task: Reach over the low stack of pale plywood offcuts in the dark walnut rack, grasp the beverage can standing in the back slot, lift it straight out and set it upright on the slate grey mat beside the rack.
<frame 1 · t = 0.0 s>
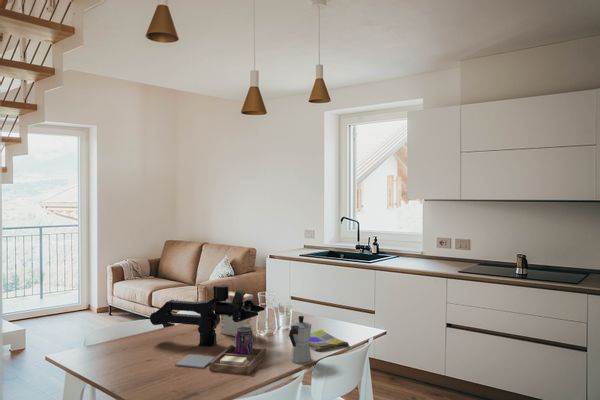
hand: (261, 311, 207), 17 cm above the table, tool horizontal, fingers open, 9 cm apart
coffeecake box: (236, 334, 229), on the table
beverage can: (243, 358, 196), resting in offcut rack
dish towel: (320, 343, 219), on the table
slate mat: (196, 361, 191), on the table
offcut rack: (239, 362, 191), on the table
coffee maker: (299, 361, 193), on the table
offcut stack: (234, 368, 186), resting in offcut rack
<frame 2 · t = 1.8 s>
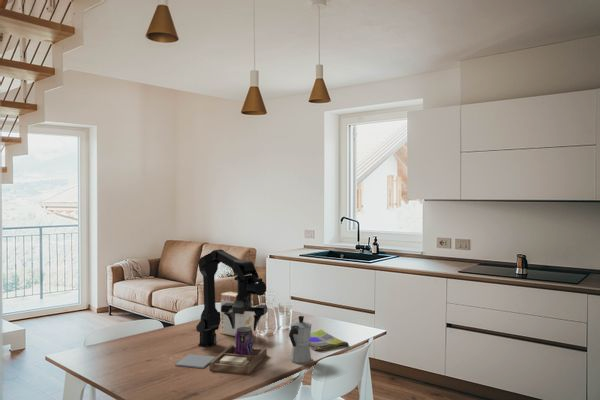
hand: (244, 329, 196), 12 cm above the table, tool pointing down, fingers open, 9 cm apart
nothing on the table moved.
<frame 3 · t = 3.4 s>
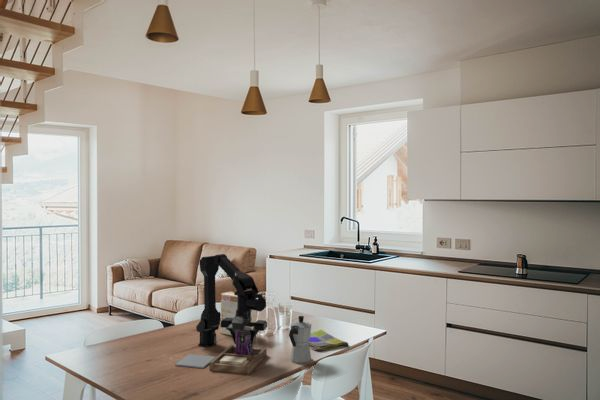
hand: (243, 344, 196), 5 cm above the table, tool pointing down, fingers closed on beverage can, 7 cm apart
beverage can: (243, 358, 196), resting in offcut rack, touching gripper
everything else where it was.
when the fingers open (7 cm above the table, at t = 8.9 s): beverage can stays where it is, resting on slate mat.
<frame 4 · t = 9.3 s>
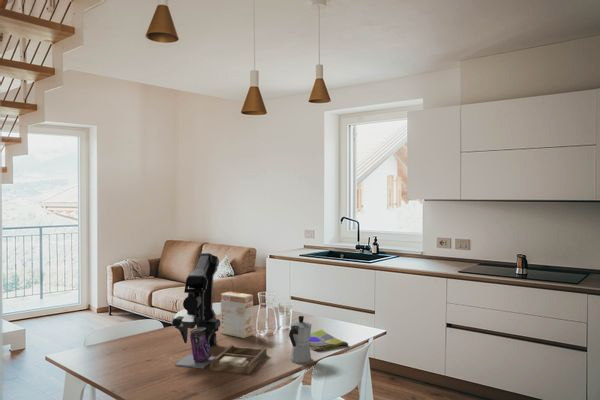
hand: (196, 344, 191), 7 cm above the table, tool pointing down, fingers open, 9 cm apart
beverage can: (202, 359, 190), point 1 cm above the table, touching gripper, slate mat
everything else where it was.
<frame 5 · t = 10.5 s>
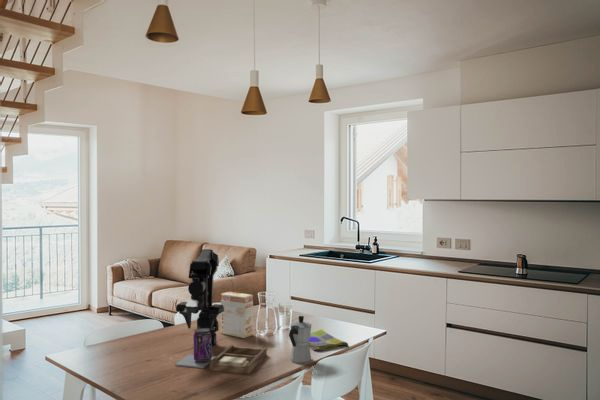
hand: (199, 329, 192), 13 cm above the table, tool pointing down, fingers open, 9 cm apart
beverage can: (202, 360, 190), point 1 cm above the table, touching slate mat
everything else where it was.
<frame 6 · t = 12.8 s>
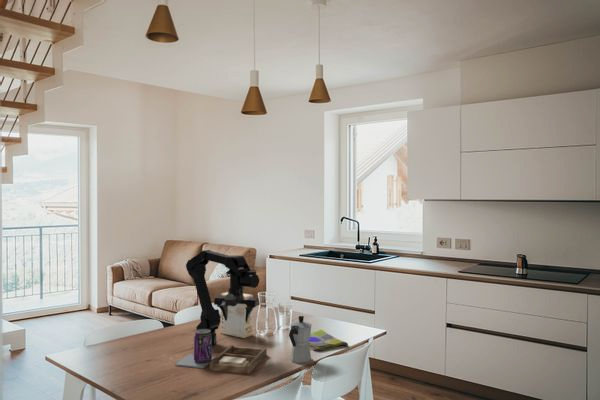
hand: (236, 321, 204), 13 cm above the table, tool pointing down, fingers open, 9 cm apart
nothing on the table moved.
at the end: beverage can inside the target area on the slate mat (2.9 cm from its centre), point 0.4 cm above the slate mat's base; beverage can tilted 0°; offcut stack moved 1.0 cm from its start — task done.
